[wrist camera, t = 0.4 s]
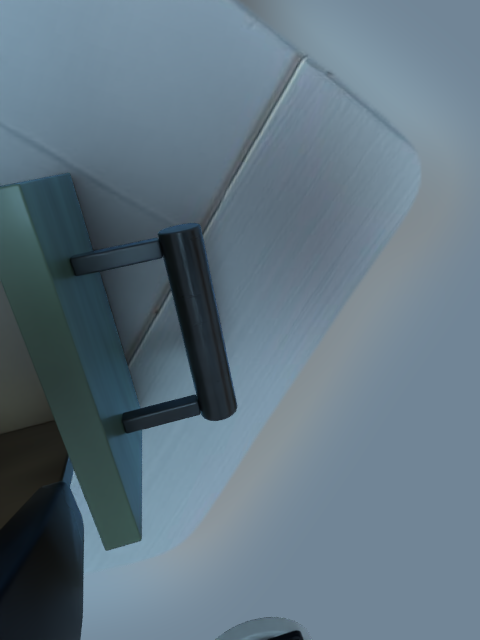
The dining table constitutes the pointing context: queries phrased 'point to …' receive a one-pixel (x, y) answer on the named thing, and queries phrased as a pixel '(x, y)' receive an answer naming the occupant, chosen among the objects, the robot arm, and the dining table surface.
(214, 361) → the drawer
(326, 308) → the dining table surface
